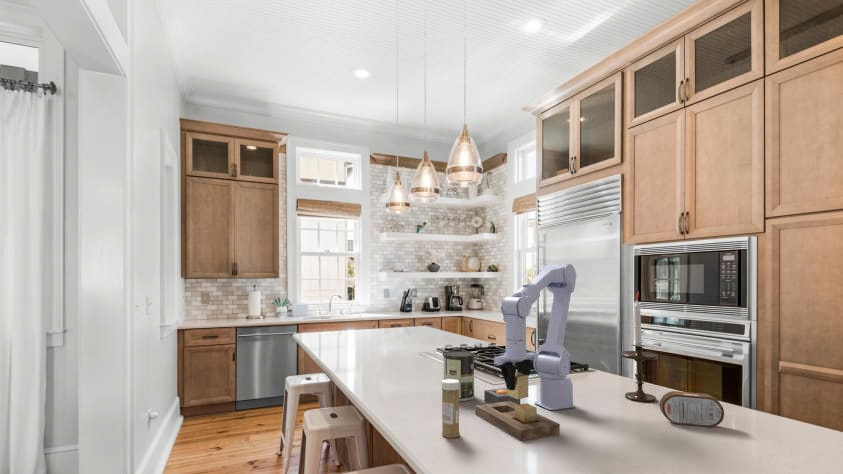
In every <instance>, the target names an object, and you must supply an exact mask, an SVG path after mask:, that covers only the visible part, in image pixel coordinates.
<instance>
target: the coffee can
mask: <svg viewBox="0 0 843 474" xmlns="http://www.w3.org/2000/svg"><path fill="white" fill-rule="evenodd" d="M442 355H443V380H445V379H455V380H458V381H459V402H467V401H471V400H473V399H475V365H474V364H475V353H473V352H471V351H465V350H464V351H463V350H462V351H461V350H453V351H452V350H451V351H450V350H449V351H445V352H443V353H442Z"/></svg>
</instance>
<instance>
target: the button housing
mask: <svg viewBox="0 0 843 474" xmlns="http://www.w3.org/2000/svg"><path fill="white" fill-rule="evenodd" d="M500 389H502V390H507V391H508V389H507V387H503V388H501V387H500V388H492V389H485V390H484V398H483V399H484V401H485V403H486V402H487V403H486V404H490V403H498V402H506V401H512V402H514V403H516V404H518V405H519V404H521V399H516V398H513V397H510V396H508V394H502V395H499V394H497V393H496V390H500Z"/></svg>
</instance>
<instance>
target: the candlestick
mask: <svg viewBox="0 0 843 474" xmlns="http://www.w3.org/2000/svg"><path fill="white" fill-rule="evenodd" d="M639 295H640V292H639V290H638V291H637V293H636V295H635V302H634V304H633V313H634V314H633V315H634V317H633V318H634V341H635V342H634V343H635V344H631V346H632V347H634V350H624V351H621V352H620V357H621V358H626V359H629V360H634V362H636V371H637V372H636V373H635V374H634V377H635V378H636V379H637V380H636V381H635V384H636V385H637V390H636V391H630V392H626V393H625V395H624V397H625V399H627V400H629V401H633V402H637V403H645V404H647V403H648V404H649V403H655V402H656V401H657V397H656V395H653V394H649V393H646V392H645V391H644V390H643V385H644V384H645V382H644V381H643V379H644V377H645V374H644V373H643V372H642V368H643V367H642V363H643V362H644V361H655V360H658V354H657V353H653V352H651V351H650V352H649V351H643V347H646V345H643V343H642V342H643V341H642V320H641V319H642V318H641V304H639V301H638V299H639Z"/></svg>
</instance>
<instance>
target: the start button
mask: <svg viewBox="0 0 843 474" xmlns="http://www.w3.org/2000/svg"><path fill="white" fill-rule="evenodd" d="M499 389H500V390H496V393H497V394H499V395H502V394H508V391H507V390H502V389H501V388H499Z"/></svg>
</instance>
